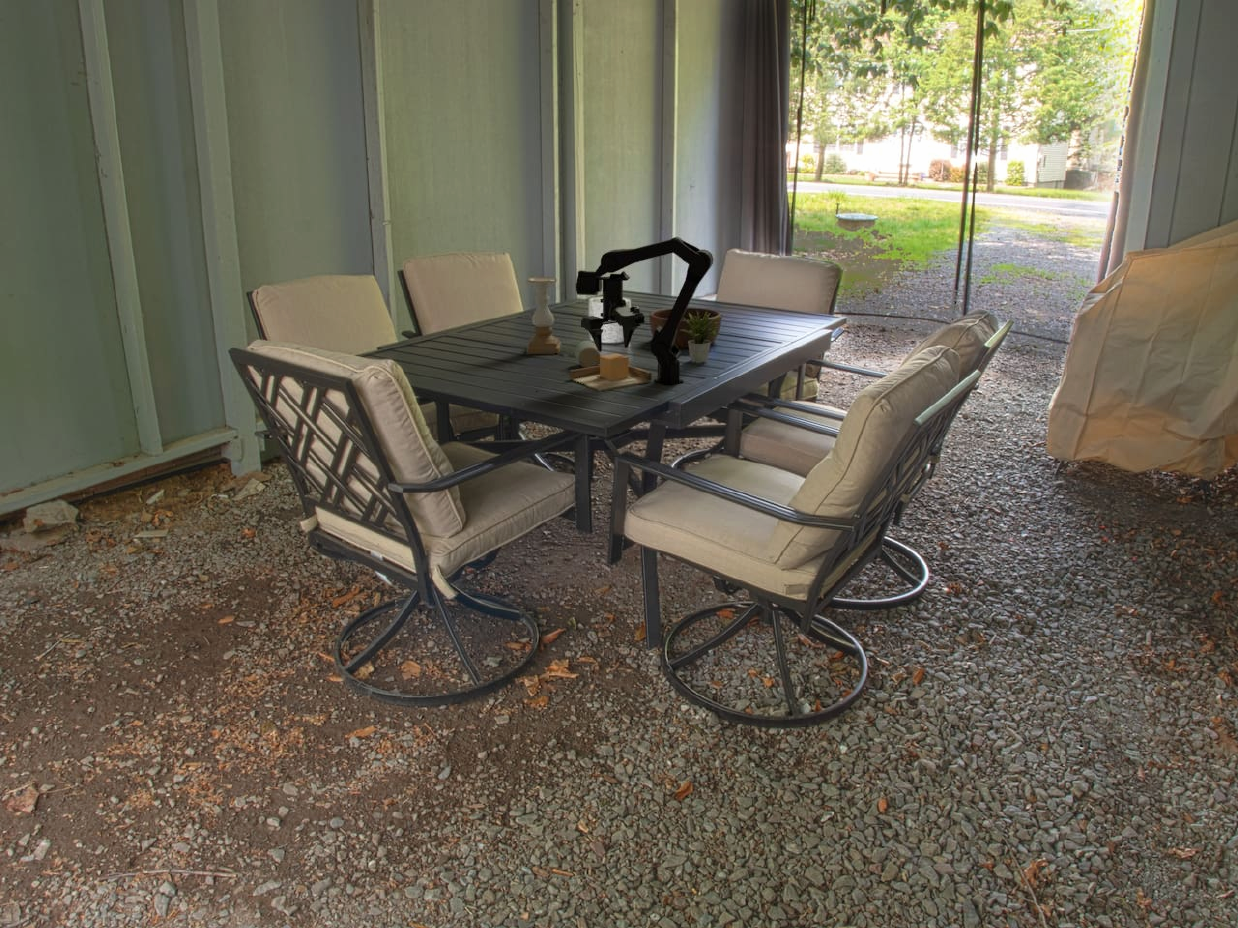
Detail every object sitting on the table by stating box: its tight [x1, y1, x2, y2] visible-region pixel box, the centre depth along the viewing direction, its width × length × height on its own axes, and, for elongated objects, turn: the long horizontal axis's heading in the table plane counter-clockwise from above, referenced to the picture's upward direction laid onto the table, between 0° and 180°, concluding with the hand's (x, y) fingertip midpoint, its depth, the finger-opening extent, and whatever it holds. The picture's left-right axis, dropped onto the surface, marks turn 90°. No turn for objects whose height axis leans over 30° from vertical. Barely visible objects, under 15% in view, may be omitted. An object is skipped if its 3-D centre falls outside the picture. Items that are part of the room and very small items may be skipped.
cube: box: [599, 353, 629, 380], centre depth 256 cm, size 6×6×6 cm
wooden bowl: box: [648, 307, 723, 349], centre depth 302 cm, size 25×25×10 cm
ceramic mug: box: [574, 340, 602, 368], centre depth 271 cm, size 11×8×8 cm
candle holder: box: [525, 276, 562, 355], centre depth 290 cm, size 11×11×24 cm
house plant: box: [680, 311, 723, 364], centre depth 274 cm, size 14×14×16 cm
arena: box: [569, 364, 653, 392], centre depth 255 cm, size 16×18×3 cm
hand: (613, 349), depth 254 cm, fingers open, 9 cm apart
